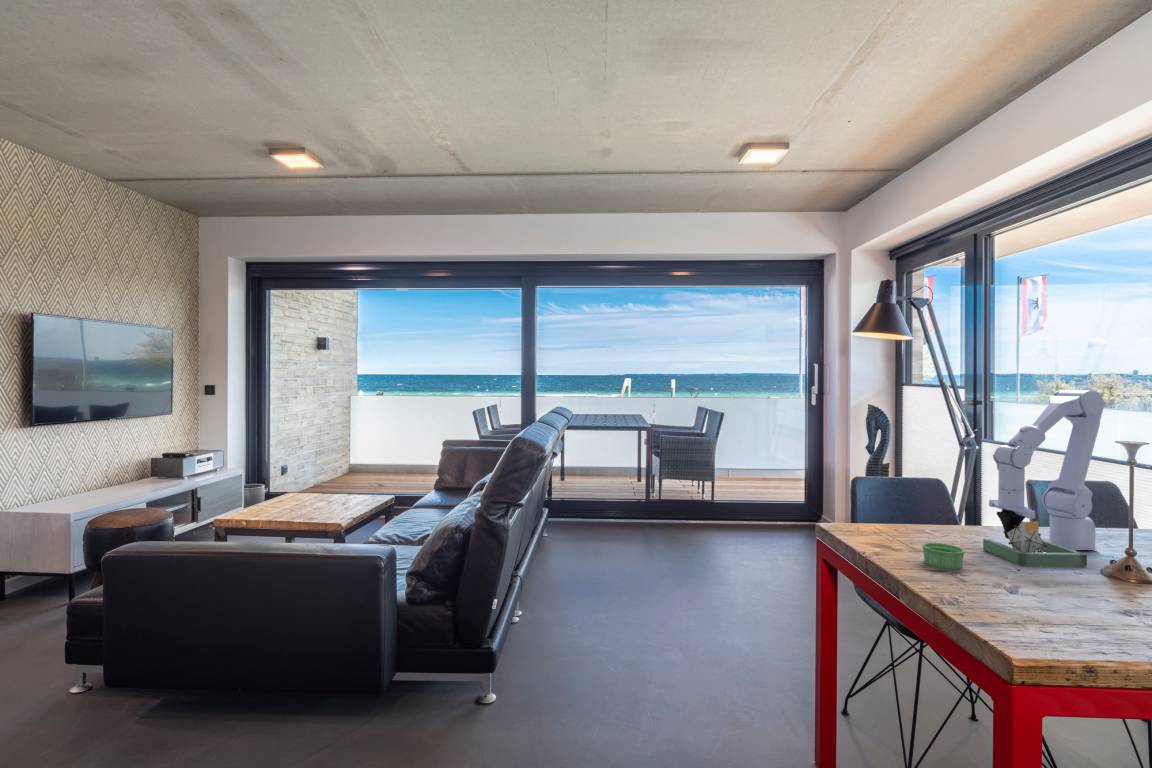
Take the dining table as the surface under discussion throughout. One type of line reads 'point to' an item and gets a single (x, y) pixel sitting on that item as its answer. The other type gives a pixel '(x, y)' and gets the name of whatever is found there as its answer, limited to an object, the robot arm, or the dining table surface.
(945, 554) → the ramekin
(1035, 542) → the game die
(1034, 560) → the green tray
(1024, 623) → the dining table surface
